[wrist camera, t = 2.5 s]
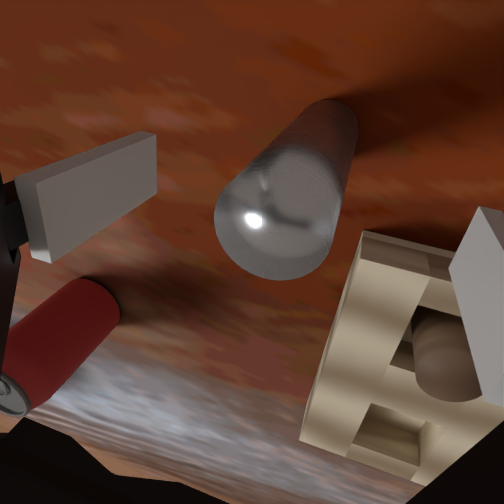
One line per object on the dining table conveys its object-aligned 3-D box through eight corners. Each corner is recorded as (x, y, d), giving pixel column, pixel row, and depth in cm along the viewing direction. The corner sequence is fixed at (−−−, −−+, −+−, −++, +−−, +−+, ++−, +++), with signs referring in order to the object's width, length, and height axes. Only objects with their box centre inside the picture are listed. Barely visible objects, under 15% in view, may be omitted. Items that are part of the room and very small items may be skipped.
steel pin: (301, 93, 23) (218, 156, 11) (366, 105, 22) (348, 185, 11) (290, 156, 25) (210, 263, 14) (349, 169, 24) (317, 293, 13)
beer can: (131, 301, 37) (39, 398, 27) (113, 336, 41) (26, 432, 31) (76, 263, 37) (-37, 348, 27) (62, 302, 41) (-41, 389, 31)
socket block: (363, 229, 26) (357, 280, 21) (585, 284, 23) (644, 358, 18) (306, 403, 37) (293, 466, 31) (454, 454, 34) (467, 532, 29)
